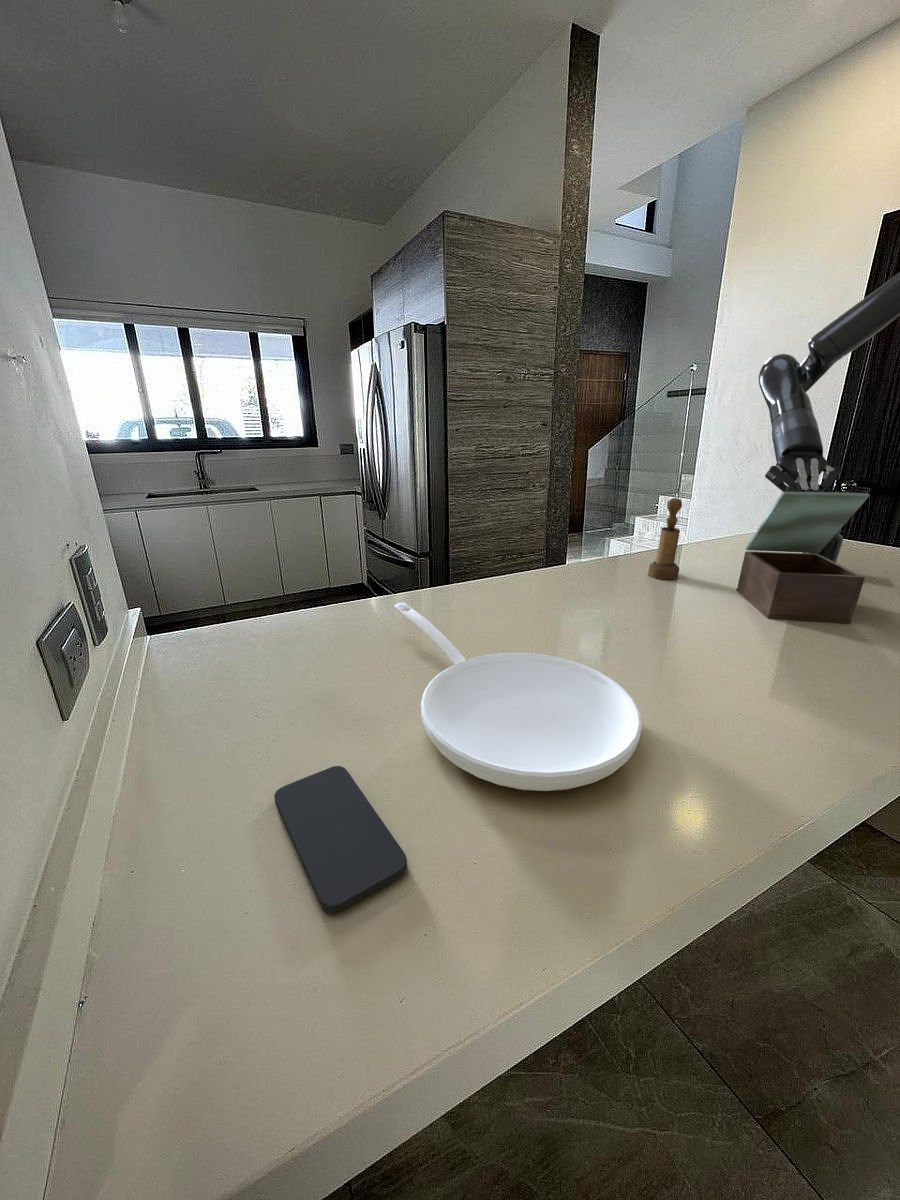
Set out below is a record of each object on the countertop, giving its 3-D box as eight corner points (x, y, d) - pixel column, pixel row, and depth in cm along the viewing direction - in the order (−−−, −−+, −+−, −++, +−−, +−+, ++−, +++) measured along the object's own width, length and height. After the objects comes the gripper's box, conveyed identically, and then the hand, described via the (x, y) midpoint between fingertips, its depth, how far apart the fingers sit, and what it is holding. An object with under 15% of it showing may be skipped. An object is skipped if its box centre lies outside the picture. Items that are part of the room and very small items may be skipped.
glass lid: (869, 496, 83) (868, 493, 84) (783, 494, 85) (782, 491, 86) (818, 553, 97) (818, 550, 97) (746, 550, 99) (745, 547, 100)
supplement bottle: (798, 572, 115) (811, 522, 110) (798, 565, 120) (811, 517, 116) (833, 577, 111) (849, 526, 107) (832, 570, 116) (847, 521, 112)
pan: (517, 852, 41) (521, 794, 39) (329, 656, 75) (325, 619, 73) (684, 746, 54) (694, 698, 52) (460, 620, 88) (460, 588, 86)
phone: (342, 762, 51) (413, 863, 39) (343, 768, 51) (413, 871, 39) (270, 791, 47) (325, 912, 35) (271, 797, 47) (326, 920, 35)
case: (850, 623, 86) (865, 577, 83) (767, 618, 88) (779, 573, 85) (806, 594, 100) (817, 553, 97) (736, 590, 103) (745, 550, 100)
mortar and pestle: (671, 581, 108) (685, 501, 102) (643, 576, 112) (655, 498, 106) (681, 575, 113) (695, 498, 106) (654, 569, 117) (665, 495, 110)
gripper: (768, 424, 93) (781, 497, 87) (844, 424, 91) (863, 499, 84) (751, 451, 100) (762, 520, 93) (821, 451, 98) (838, 523, 91)
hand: (810, 510), depth 89 cm, fingers closed
